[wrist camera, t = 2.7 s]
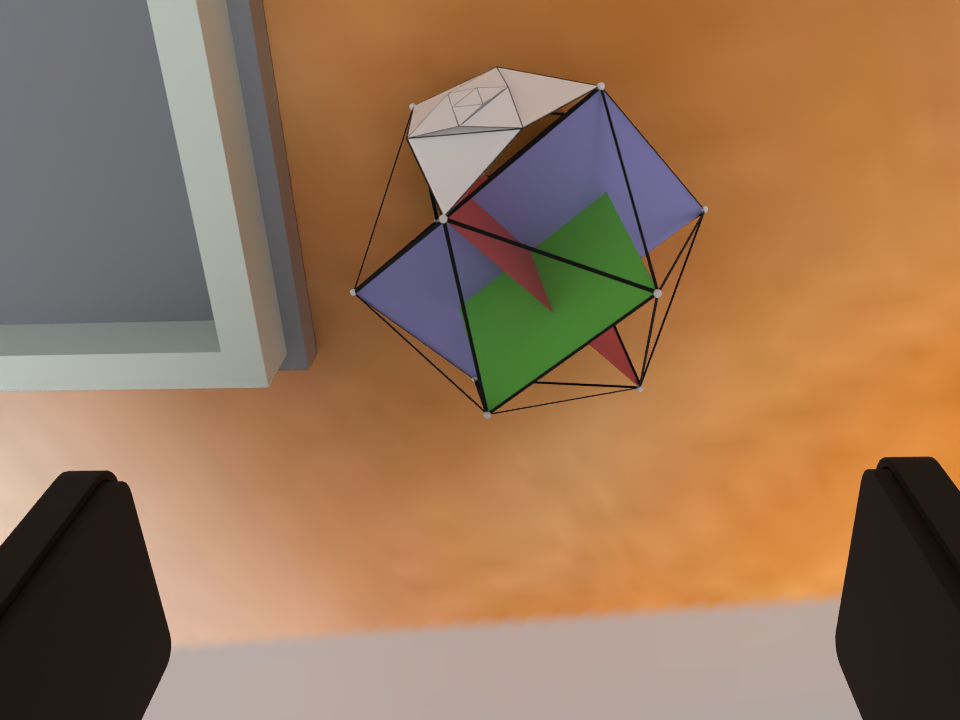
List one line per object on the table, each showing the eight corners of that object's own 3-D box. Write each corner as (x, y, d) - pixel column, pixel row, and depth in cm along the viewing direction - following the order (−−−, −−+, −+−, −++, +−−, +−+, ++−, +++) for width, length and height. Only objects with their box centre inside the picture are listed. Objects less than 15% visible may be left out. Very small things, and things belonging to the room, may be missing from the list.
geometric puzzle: (789, 310, 21) (720, 265, 14) (558, 463, 23) (396, 492, 16) (624, 81, 23) (489, -63, 16) (427, 244, 25) (231, 183, 18)
